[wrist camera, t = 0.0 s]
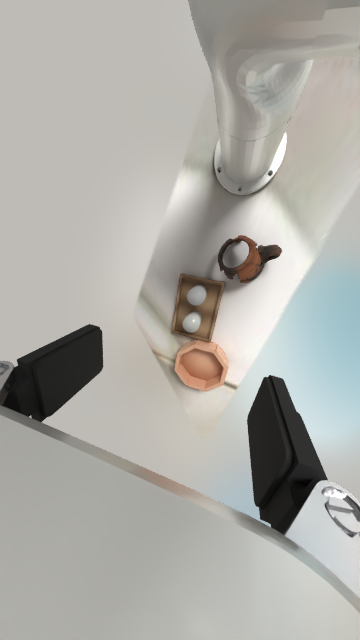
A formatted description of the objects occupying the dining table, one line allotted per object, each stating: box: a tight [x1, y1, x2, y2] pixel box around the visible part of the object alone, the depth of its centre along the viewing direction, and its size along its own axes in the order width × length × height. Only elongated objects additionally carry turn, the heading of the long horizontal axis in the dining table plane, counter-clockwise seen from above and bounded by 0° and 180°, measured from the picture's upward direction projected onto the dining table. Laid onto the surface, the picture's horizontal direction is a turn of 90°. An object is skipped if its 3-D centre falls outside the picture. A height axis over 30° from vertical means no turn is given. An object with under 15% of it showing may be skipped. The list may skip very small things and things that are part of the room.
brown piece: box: [218, 236, 282, 283], centre depth 37 cm, size 12×10×8 cm
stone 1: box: [187, 284, 208, 305], centre depth 42 cm, size 4×4×6 cm
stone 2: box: [183, 310, 202, 332], centre depth 45 cm, size 4×4×6 cm
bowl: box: [174, 339, 228, 391], centre depth 50 cm, size 14×14×4 cm
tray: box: [172, 274, 225, 342], centre depth 46 cm, size 16×11×2 cm
